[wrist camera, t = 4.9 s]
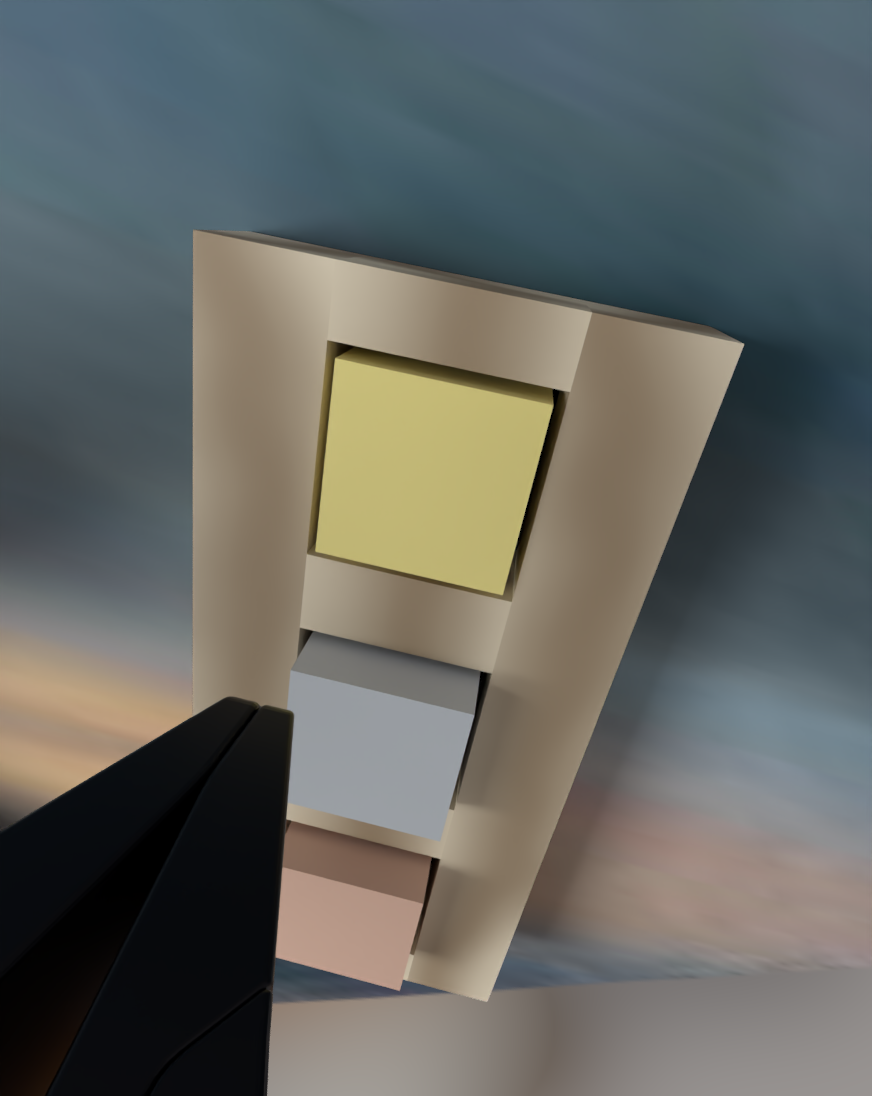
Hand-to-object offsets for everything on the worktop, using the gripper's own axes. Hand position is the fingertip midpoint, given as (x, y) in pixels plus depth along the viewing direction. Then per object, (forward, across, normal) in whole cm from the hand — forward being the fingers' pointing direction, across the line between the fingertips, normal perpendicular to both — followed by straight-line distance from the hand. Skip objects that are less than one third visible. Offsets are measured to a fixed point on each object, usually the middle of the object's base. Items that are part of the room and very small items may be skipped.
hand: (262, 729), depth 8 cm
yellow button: (+12, -1, 0) cm, 12 cm away
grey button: (+10, -1, +8) cm, 13 cm away
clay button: (+10, -1, +16) cm, 19 cm away
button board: (+12, -1, +8) cm, 14 cm away
